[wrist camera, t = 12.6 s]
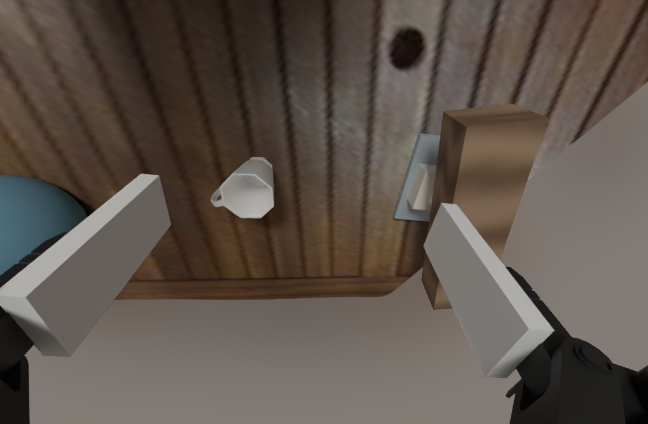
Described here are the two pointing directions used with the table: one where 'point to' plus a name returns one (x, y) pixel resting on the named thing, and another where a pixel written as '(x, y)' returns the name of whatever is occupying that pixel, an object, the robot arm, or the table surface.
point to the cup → (248, 189)
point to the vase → (32, 216)
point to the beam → (483, 174)
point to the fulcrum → (419, 180)
